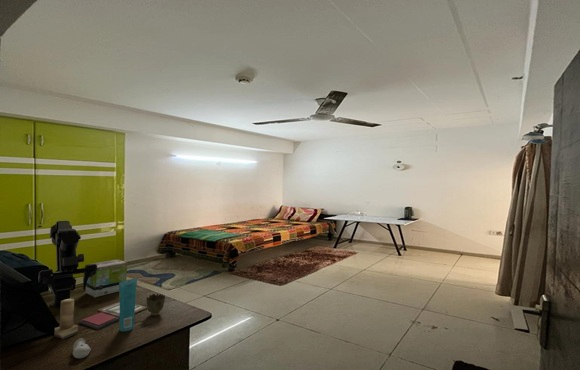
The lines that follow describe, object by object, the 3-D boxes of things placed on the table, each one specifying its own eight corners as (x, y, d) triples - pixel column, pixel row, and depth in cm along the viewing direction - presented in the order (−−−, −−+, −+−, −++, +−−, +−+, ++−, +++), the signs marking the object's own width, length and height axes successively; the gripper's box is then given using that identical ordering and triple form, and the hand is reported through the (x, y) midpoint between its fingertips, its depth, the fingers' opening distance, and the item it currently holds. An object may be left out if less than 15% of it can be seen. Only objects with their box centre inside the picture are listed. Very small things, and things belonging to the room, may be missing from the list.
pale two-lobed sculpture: (88, 362, 97) (69, 361, 94) (87, 349, 103) (70, 349, 101) (93, 348, 98) (75, 347, 95) (93, 337, 104) (76, 336, 101)
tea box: (95, 298, 144) (96, 267, 144) (85, 293, 150) (86, 263, 150) (126, 289, 157) (127, 261, 157) (116, 285, 162) (117, 258, 162)
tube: (130, 323, 121) (132, 276, 121) (139, 326, 119) (141, 278, 119) (113, 331, 114) (115, 281, 114) (122, 334, 112) (124, 283, 112)
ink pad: (79, 323, 119) (79, 319, 119) (101, 314, 127) (101, 311, 127) (97, 329, 115) (97, 326, 115) (119, 320, 123) (119, 316, 123)
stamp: (54, 335, 109) (55, 301, 109) (69, 329, 114) (70, 297, 114) (62, 339, 107) (64, 304, 107) (77, 333, 112) (79, 299, 112)
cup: (157, 319, 125) (157, 300, 125) (141, 317, 127) (142, 298, 127) (167, 312, 132) (168, 294, 132) (153, 310, 134) (153, 292, 134)
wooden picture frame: (97, 311, 131) (97, 309, 131) (122, 301, 142) (122, 300, 142) (123, 319, 124) (123, 317, 124) (147, 308, 135) (147, 306, 135)
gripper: (40, 250, 113) (40, 289, 106) (97, 245, 126) (101, 279, 119) (38, 263, 120) (38, 301, 112) (93, 257, 132) (96, 291, 125)
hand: (70, 292), depth 117 cm, fingers open, 9 cm apart
